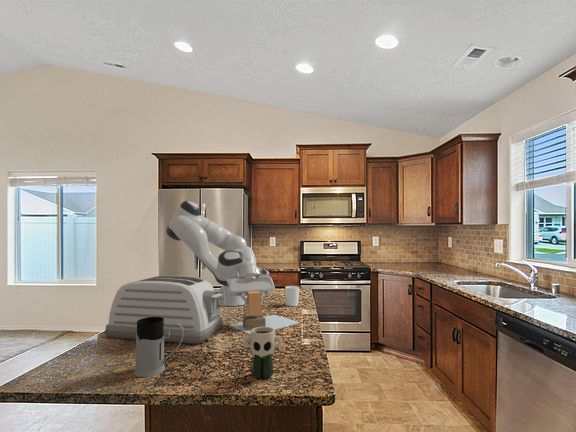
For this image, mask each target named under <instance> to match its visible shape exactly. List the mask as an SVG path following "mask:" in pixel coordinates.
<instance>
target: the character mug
mask: <svg viewBox="0 0 576 432" xmlns="http://www.w3.org/2000/svg"><path fill="white" fill-rule="evenodd" d="M248 340H250V344H249V343H248ZM276 340H277V343H276ZM243 346H244V348H247V349H249V348H250V351H251V353H252V354H253V362H252V368H251V375H252V376H253V377H254V378H256V379H257V378H258V379H261V376H262V375H263V379H267V378H270V377H271V376H273V374H274V372H275V371H274V363H273V356H272V355H271V354H273V353H274V352H275V350H276V348H281V347H282V337H281V335H276V329H275V330H274V328H271V327H256V328H253V329H252V330H251V335H246V336H244V338H243Z"/></svg>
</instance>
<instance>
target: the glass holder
mask: <svg viewBox="0 0 576 432" xmlns="http://www.w3.org/2000/svg"><path fill="white" fill-rule="evenodd" d="M173 325H178V326H180V327H181V329H182V338H181V341H180V343H178V345H177V346H176V348H175V349H174V350H173V351H172V352H171V353H170V354H167V356H166V357H164V356H165V342H164V339H166V338H168V337H169V335H170V329H171V327H172V326H173ZM173 325H171V326H170V328H169V331H168V337H164V318H162V317H147V318H143V319H140V320H138V321H137V330H136V340H135V367H134V368H135V369H134V370H133V375H134V376H135V377H140V378H149V377H153V376H156V375H160V374H161V373H163V372H165V370H166V366H165V362H166V360H167V359H168V358H169V357H170V356H172V355H173V354H174V353H175V352H176V351H177V350H178V349H179V347H180V346H181V344H182V343H181V342H182V339H183V332H184V331H183V327H182V326H181V325H180V324H173Z"/></svg>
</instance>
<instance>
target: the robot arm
mask: <svg viewBox="0 0 576 432" xmlns="http://www.w3.org/2000/svg"><path fill="white" fill-rule="evenodd" d="M165 232H166V235H167V236H168V237H169V238H171V240H174V241H177V242H178V241H181V242H183V243H184V245H186V246H187V247H188V248H189V249H190V250H191V252H192V253H193V254H194V256H196V258H197V259H198V260H199V261H200V263H201V264H203V265H204V266H205V267H206V269H208V271H209V272H210V273H211V274H212V275H213V276H214V278H215V281H216V282H217V283H218V284H219V285H222V286H221V287H220V288H219V289H218V290H217V291H218V292H219V294H222V295H221V296H219V305H220V306H219V307H236V306H237V307H239V306H245V305H247V304H248V303H249V300H248V298H247V292H252V291H259V292H261V304H262V303H264V296H265V295H273V293H274V292H275V290H276V289H275V288H276V287H275V284H274V281H273V279H272V276H270V272H269V271H268V270H265V269H263V268H262V269H261V268H259V267H258V266H257V259H256V255H255V253H254V250H253V249H252V248H251V247H249V246H247V241H246V240H245V238H243V237H242V236H240V235H236V234H234V233H233V232H232V231H229V230H228V229H226V228H225V227H223V226H222V225H220V224H218V223H216V222H214V221H212V220H211V219H209V218H207V217H205V216H203V215H202V214H201V209H200V206H198V204H197V203H195V202H193V201H192V200H184V201H183V202H181V204H180V205H179V206H178V208H177V210H176V211H175V212H174V214H173V216H172V218H171V220H170V222H169V224H168V225H167V227H166V231H165ZM209 243H210V244H212V245H214V246H215V247H217V248H218V249H219V248H220V249H221V250H222V252H221V253H220V254H219V255H218V257H215V255H213V253H212V252H211V250H210V245H209ZM238 305H239V306H238Z"/></svg>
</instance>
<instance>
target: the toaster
mask: <svg viewBox="0 0 576 432" xmlns="http://www.w3.org/2000/svg"><path fill="white" fill-rule="evenodd" d="M221 295H222V294H219V292H218V290H215V289H214V286H213V285H212V283H210V281H208V280H206V279H204V278H201V277H196V276H188V275H187V276H186V275H185V276H184V275H159V276H157V275H156V276H153V277H148V278H144V279H141V280H136V281H132V282H128V283H124V284H123V285H122V286H120V287H119V288H118V289H117V291H116V293H115V296H114V298H113V300H112V304H111V307H110V310H109V316H108V317H109V318H108V323H107V324H106V325H105V329H104V335H105V336H106V337H108V338H111V339H124V340H135V341H136V330H137V321H138V320H140V319H143V318H147V317H162V318H164V337H168V331H169V328H170V326H171V325H173V324H180V325H181V326H182V327H183V331H184V332H183V339H182V342H181V344H189V345H190V344H192V345H195V344H202V343H204V342H205V341H206V340H208V339H209V337H211V336H212V335H213V334H215V333H217V331H218V330H221V329H222V327H223V323H224V322H223V321H224V320H223V317H222V316H221V312H220V311H221V310H220V306H219V296H221ZM181 338H182V329H181V327H180V326H178V325H173V326H172V327H171V329H170V335H169V337H168V338H166V339H164V343H177V344H179V343H180V341H181Z"/></svg>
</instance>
